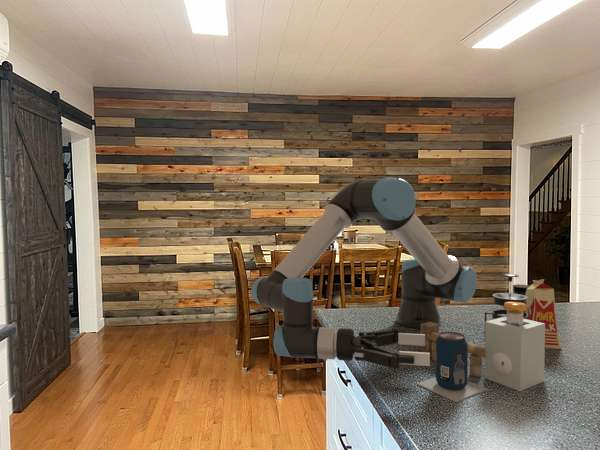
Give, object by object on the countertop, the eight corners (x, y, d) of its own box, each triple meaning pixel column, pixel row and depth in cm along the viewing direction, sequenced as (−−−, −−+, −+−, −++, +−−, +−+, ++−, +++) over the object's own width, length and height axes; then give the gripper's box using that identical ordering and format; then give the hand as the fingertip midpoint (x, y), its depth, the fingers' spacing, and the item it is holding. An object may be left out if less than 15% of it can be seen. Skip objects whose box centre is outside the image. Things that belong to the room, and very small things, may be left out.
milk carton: (561, 348, 126) (562, 280, 125) (527, 347, 128) (528, 280, 127) (550, 339, 135) (551, 275, 134) (518, 337, 137) (519, 274, 136)
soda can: (444, 377, 106) (444, 329, 105) (472, 385, 101) (473, 335, 100) (430, 386, 101) (430, 335, 100) (458, 395, 96) (459, 342, 95)
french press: (531, 353, 122) (532, 273, 121) (530, 364, 114) (531, 278, 113) (486, 347, 128) (487, 270, 127) (482, 357, 120) (483, 275, 119)
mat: (417, 384, 102) (417, 383, 102) (447, 374, 108) (447, 373, 108) (456, 402, 93) (456, 401, 93) (487, 390, 99) (487, 388, 99)
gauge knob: (499, 332, 105) (499, 303, 104) (511, 329, 107) (511, 300, 107) (518, 337, 101) (519, 307, 100) (530, 334, 103) (530, 304, 103)
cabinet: (479, 380, 105) (479, 322, 104) (508, 369, 111) (509, 315, 110) (514, 393, 97) (515, 332, 96) (544, 381, 103) (545, 323, 103)
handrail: (419, 355, 122) (420, 324, 121) (430, 352, 124) (430, 321, 123) (481, 379, 105) (481, 342, 105) (492, 375, 107) (492, 339, 107)
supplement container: (510, 313, 166) (511, 286, 166) (514, 309, 172) (514, 283, 171) (530, 316, 162) (530, 288, 162) (533, 312, 167) (533, 285, 167)
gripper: (342, 342, 118) (423, 347, 114) (330, 379, 94) (432, 387, 89) (342, 315, 118) (423, 319, 113) (329, 345, 93) (432, 351, 89)
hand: (427, 349), depth 101 cm, fingers open, 13 cm apart
